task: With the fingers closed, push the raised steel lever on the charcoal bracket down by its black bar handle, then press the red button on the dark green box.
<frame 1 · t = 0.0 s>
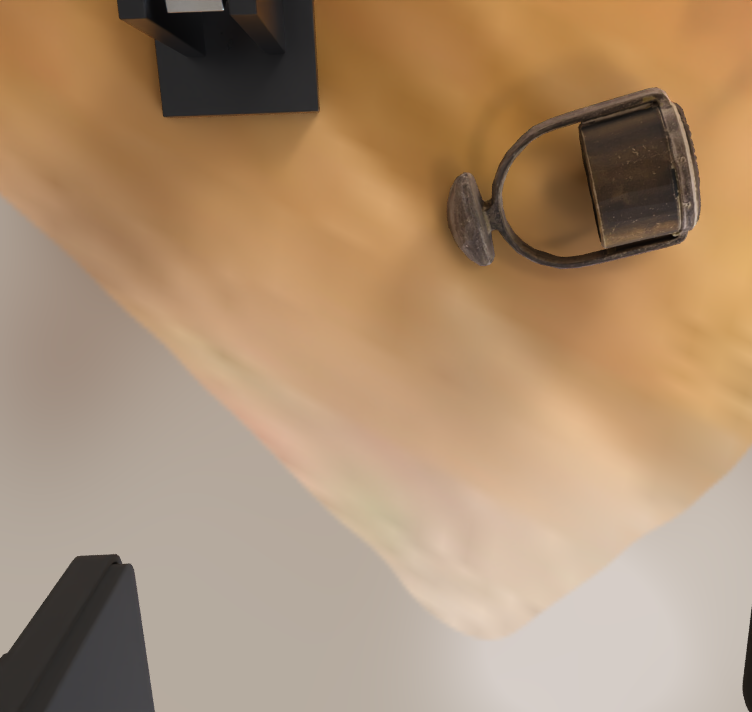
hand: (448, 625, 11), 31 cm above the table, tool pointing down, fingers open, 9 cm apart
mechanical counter: (560, 180, 40), on the table
bracket: (236, 12, 37), on the table
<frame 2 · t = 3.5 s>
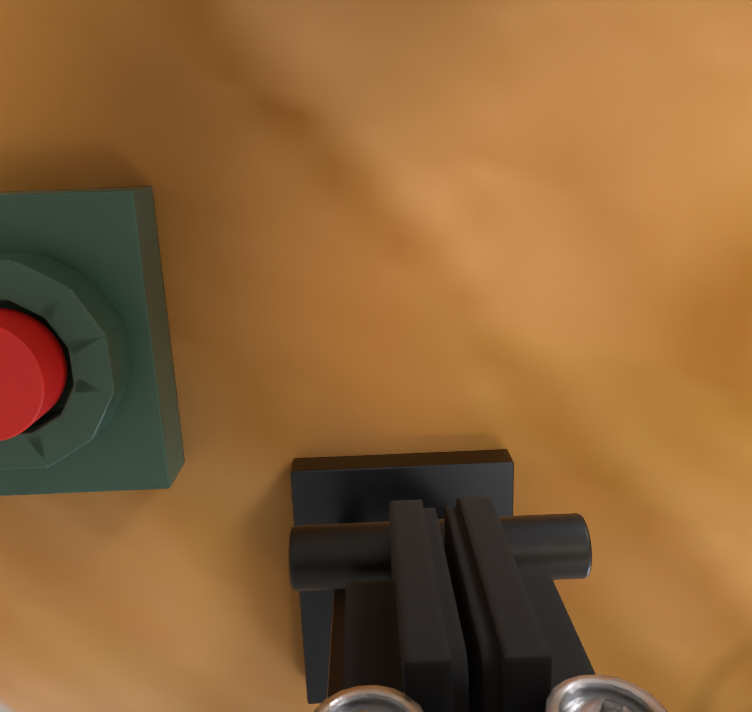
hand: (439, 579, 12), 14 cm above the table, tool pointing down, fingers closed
button box: (55, 336, 25), on the table
bracket: (403, 571, 28), on the table
lever: (430, 703, 16), point 12 cm above the table, hinge at 22.7°, touching gripper
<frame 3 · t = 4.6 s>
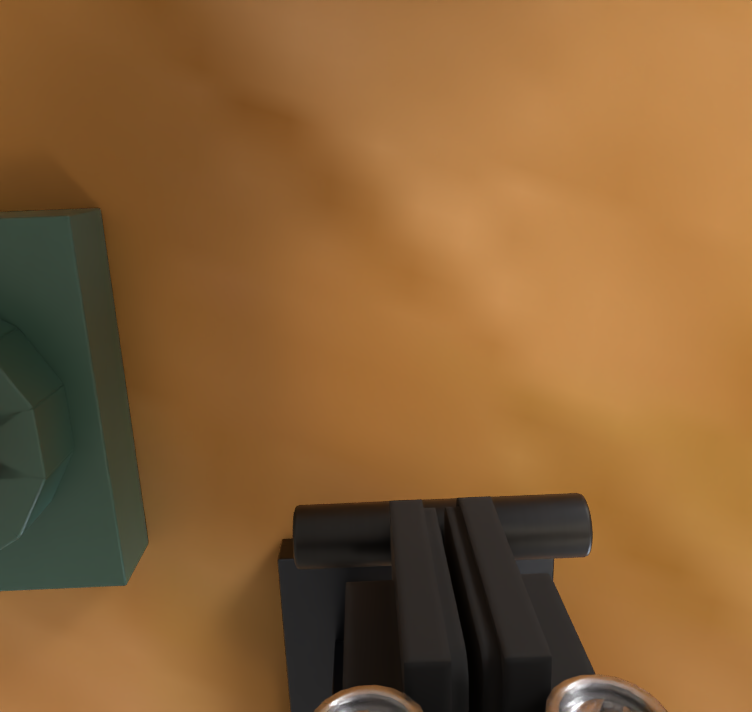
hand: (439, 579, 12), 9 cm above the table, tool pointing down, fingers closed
bracket: (416, 669, 23), on the table
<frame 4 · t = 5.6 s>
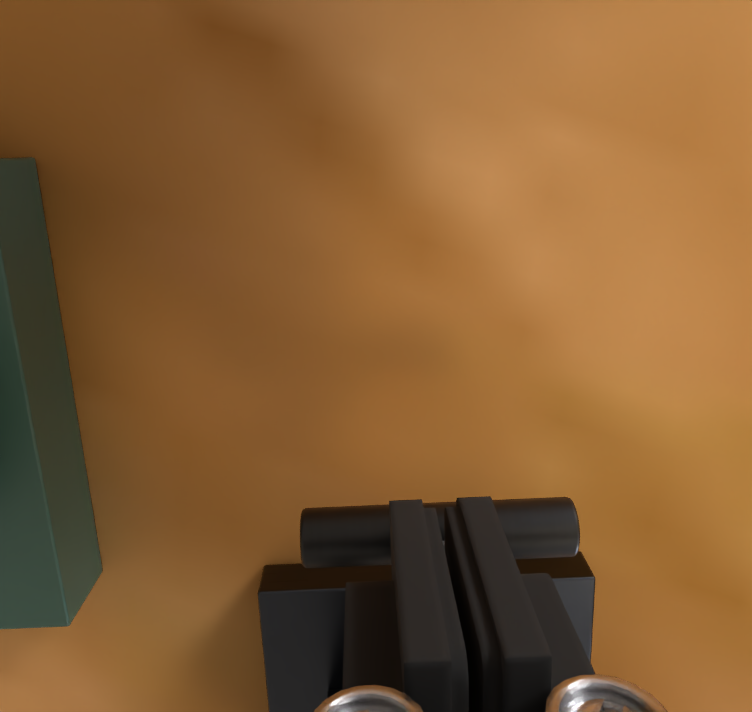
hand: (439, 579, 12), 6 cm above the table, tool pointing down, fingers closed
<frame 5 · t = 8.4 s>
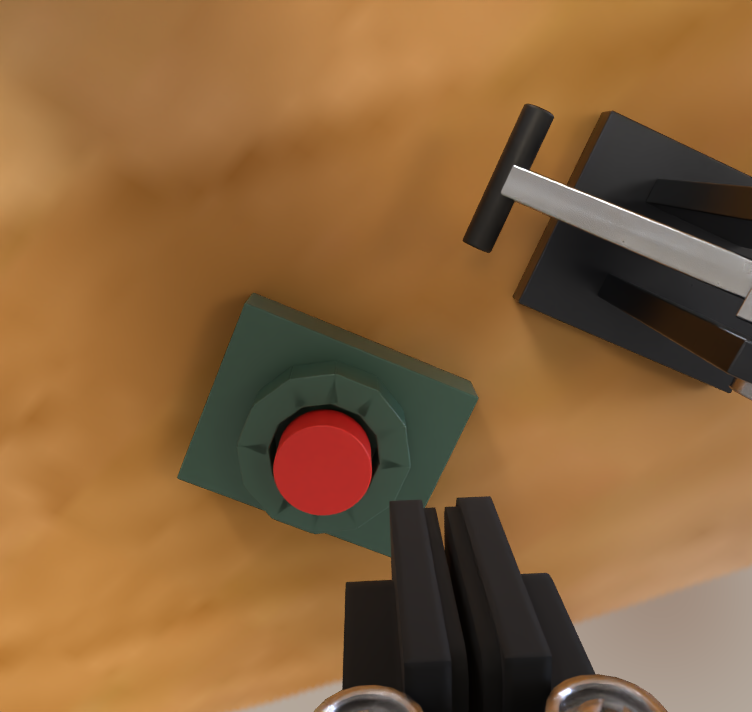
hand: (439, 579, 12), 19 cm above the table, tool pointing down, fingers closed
button box: (328, 419, 31), on the table
bracket: (662, 255, 30), on the table
lever: (655, 241, 22), point 7 cm above the table, hinge at -35.9°
button: (323, 461, 27), point 4 cm above the table, slide at 0.1 cm
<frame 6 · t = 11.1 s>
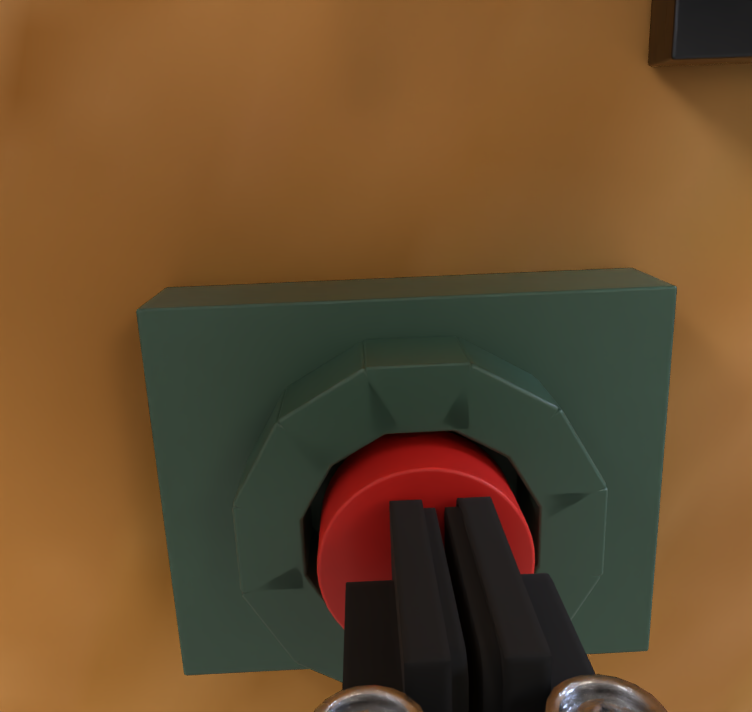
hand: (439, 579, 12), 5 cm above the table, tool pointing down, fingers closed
button box: (405, 450, 16), on the table
button: (421, 541, 13), point 4 cm above the table, slide at -0.4 cm, touching gripper
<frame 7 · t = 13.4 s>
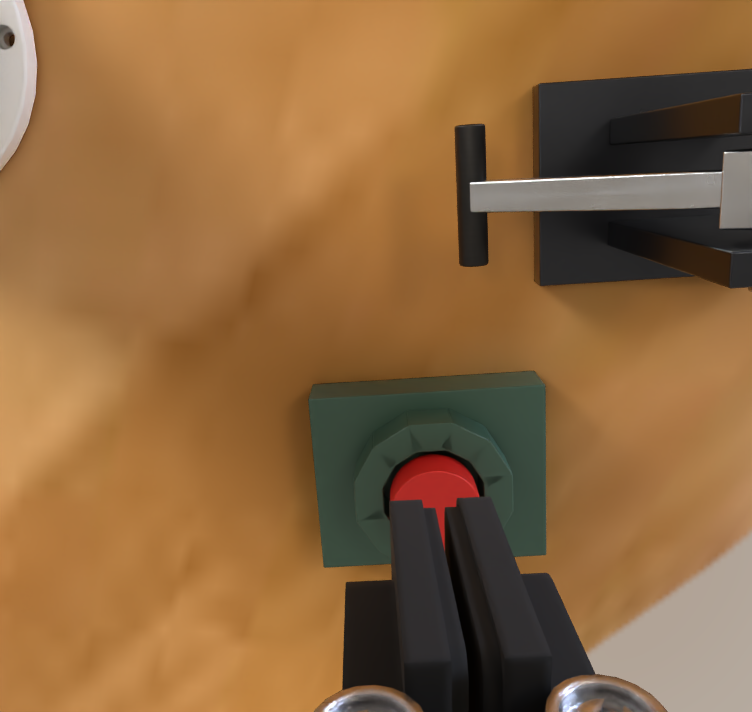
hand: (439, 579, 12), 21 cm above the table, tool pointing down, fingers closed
button box: (427, 459, 33), on the table
bracket: (652, 179, 30), on the table
lever: (621, 191, 23), point 7 cm above the table, hinge at -35.9°
button: (434, 503, 29), point 4 cm above the table, slide at 0.1 cm
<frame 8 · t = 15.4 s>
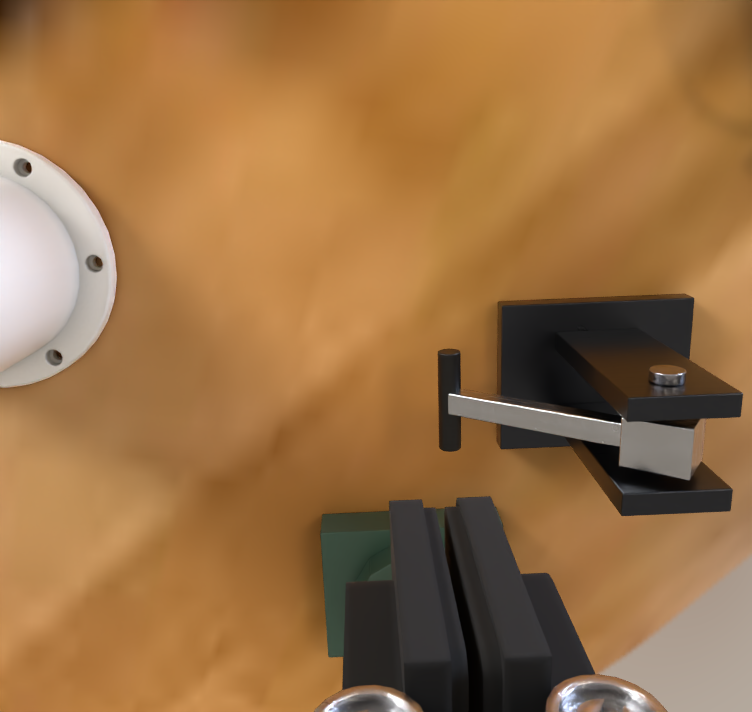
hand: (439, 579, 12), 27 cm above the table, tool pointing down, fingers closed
button box: (410, 571, 43), on the table
bracket: (588, 369, 39), on the table
lever: (556, 419, 32), point 7 cm above the table, hinge at -35.9°
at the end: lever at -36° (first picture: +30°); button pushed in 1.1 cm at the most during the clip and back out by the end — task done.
